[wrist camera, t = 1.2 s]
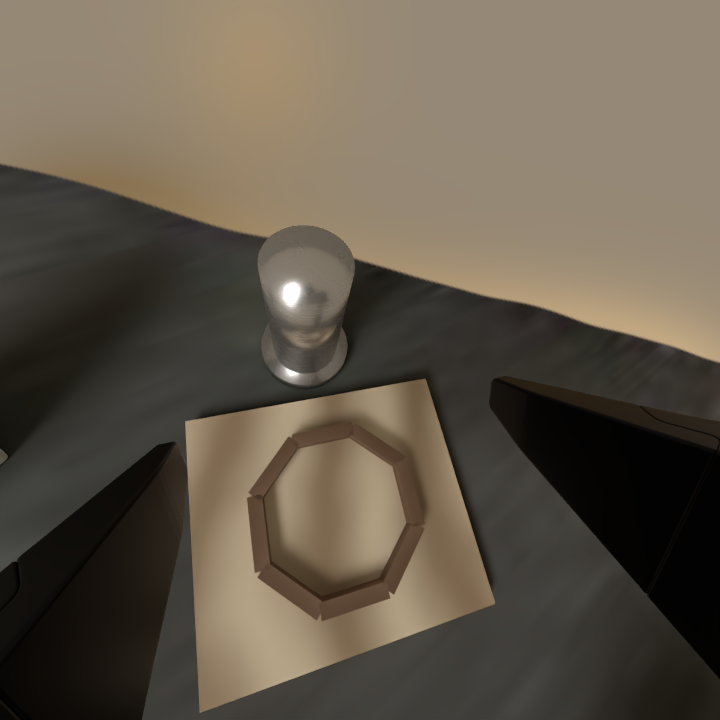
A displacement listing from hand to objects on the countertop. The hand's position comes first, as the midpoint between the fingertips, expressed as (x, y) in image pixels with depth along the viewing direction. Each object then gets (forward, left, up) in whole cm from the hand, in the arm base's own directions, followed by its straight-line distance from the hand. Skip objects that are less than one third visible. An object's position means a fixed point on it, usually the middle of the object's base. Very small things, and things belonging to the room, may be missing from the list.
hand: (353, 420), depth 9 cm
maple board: (0, +3, -13) cm, 14 cm away
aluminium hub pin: (0, -8, -13) cm, 16 cm away
